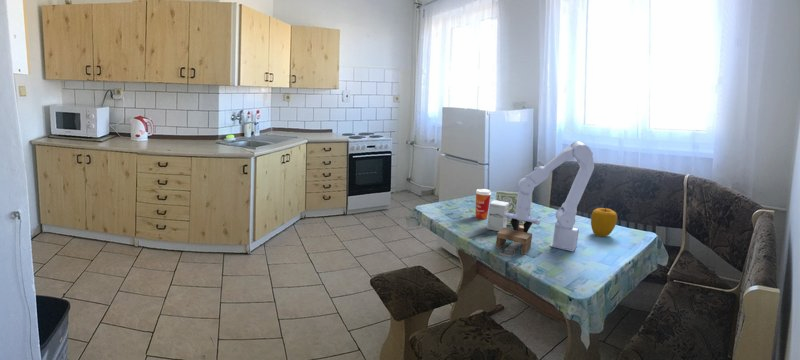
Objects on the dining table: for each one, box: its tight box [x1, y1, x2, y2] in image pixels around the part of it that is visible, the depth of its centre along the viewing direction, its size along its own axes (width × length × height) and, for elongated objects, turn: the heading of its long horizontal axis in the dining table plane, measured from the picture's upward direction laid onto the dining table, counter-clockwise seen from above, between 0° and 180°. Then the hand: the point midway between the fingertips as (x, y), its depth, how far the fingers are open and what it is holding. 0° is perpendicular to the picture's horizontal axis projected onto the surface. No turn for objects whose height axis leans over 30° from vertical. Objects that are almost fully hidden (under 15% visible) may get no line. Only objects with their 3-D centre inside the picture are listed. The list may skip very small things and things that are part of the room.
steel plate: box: [498, 248, 516, 258], centre depth 179 cm, size 5×5×1 cm
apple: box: [590, 207, 618, 238], centre depth 204 cm, size 11×11×13 cm
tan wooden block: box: [505, 225, 524, 252], centre depth 188 cm, size 3×18×6 cm, turn 148°
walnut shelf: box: [495, 227, 533, 255], centre depth 185 cm, size 12×8×6 cm, turn 59°
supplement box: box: [486, 199, 510, 232], centre depth 207 cm, size 7×7×13 cm
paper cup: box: [475, 188, 492, 221], centre depth 222 cm, size 8×8×14 cm
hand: (520, 237), depth 192 cm, fingers closed on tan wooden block, 3 cm apart
